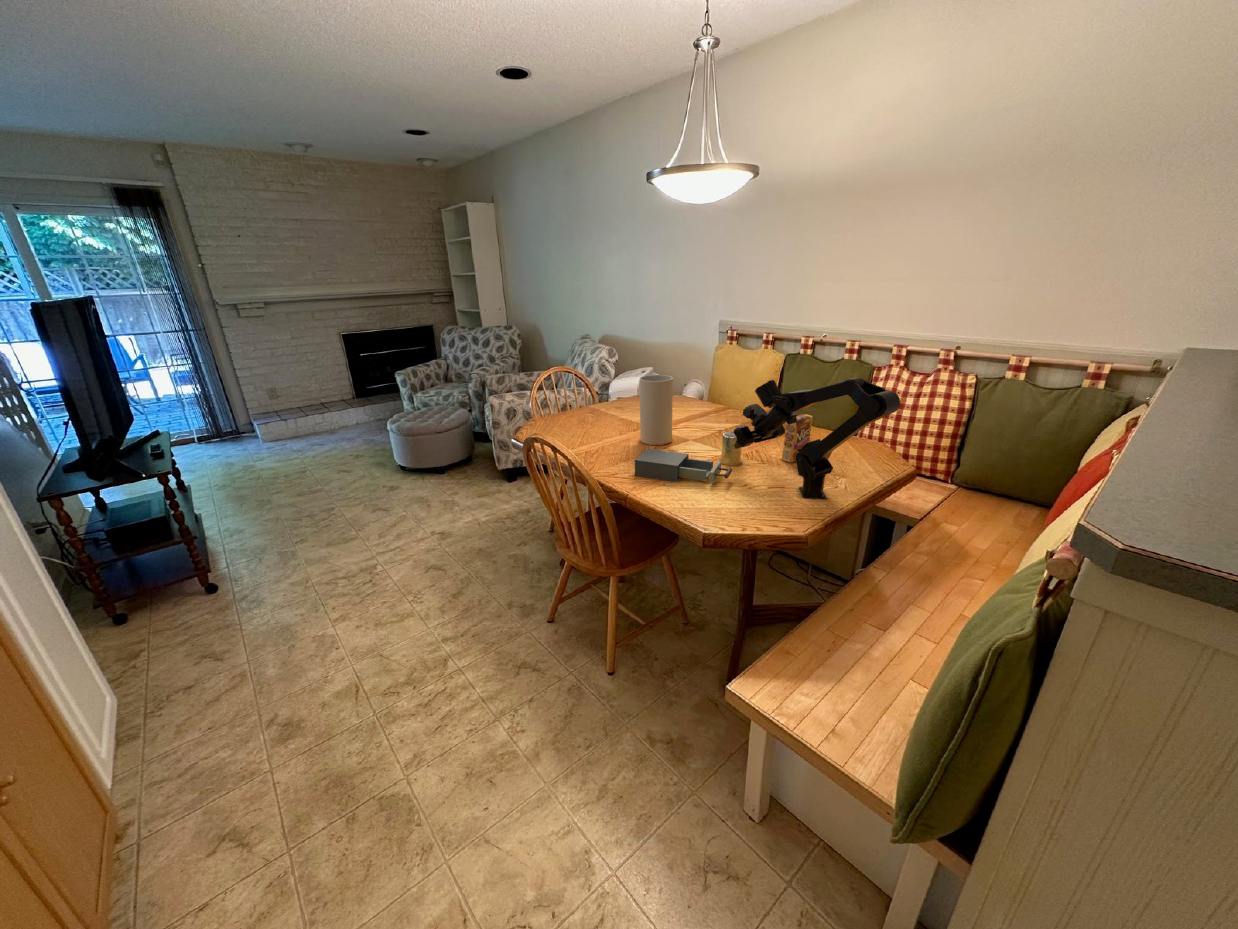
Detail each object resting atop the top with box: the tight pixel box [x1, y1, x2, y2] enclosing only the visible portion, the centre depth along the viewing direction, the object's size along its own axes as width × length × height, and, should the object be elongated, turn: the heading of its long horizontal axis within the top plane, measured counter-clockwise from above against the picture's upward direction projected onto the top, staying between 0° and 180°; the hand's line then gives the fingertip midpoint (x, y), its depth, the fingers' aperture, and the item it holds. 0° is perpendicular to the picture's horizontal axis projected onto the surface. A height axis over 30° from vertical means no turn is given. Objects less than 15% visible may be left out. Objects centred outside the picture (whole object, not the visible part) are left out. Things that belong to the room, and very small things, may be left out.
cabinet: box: [634, 448, 690, 483], centre depth 158 cm, size 15×12×6 cm
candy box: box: [781, 413, 814, 464], centre depth 164 cm, size 9×4×15 cm, turn 123°
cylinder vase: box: [639, 374, 674, 446], centre depth 185 cm, size 12×12×25 cm
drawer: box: [678, 457, 733, 485], centre depth 152 cm, size 18×10×4 cm, turn 65°
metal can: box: [720, 431, 743, 466], centre depth 164 cm, size 7×7×10 cm
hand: (744, 444), depth 158 cm, fingers open, 9 cm apart
